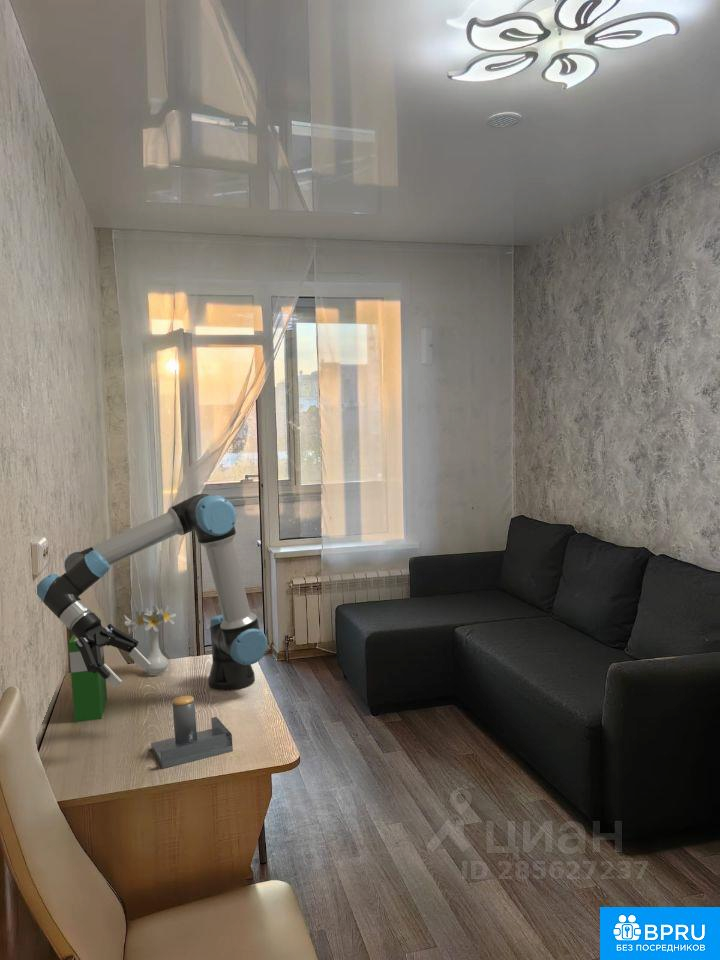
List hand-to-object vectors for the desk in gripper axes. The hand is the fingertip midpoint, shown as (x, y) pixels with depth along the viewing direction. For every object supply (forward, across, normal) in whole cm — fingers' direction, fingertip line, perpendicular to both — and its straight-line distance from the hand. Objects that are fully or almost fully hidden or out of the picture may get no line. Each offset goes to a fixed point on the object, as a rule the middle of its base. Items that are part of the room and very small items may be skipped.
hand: (133, 676), depth 199 cm
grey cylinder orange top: (+23, +2, -1) cm, 23 cm away
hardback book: (-8, -18, -34) cm, 39 cm away
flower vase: (-7, -52, -34) cm, 62 cm away
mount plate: (+25, +2, -1) cm, 25 cm away
